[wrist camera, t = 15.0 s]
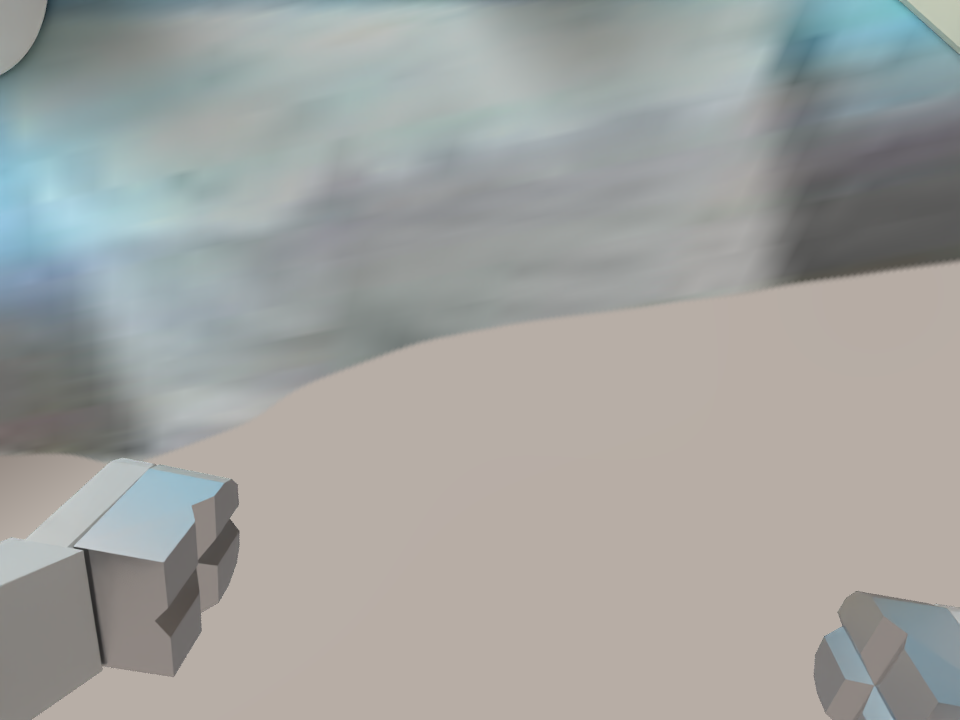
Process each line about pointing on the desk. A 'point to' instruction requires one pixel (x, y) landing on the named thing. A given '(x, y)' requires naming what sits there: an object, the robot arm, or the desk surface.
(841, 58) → the desk surface
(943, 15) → the sage mat
